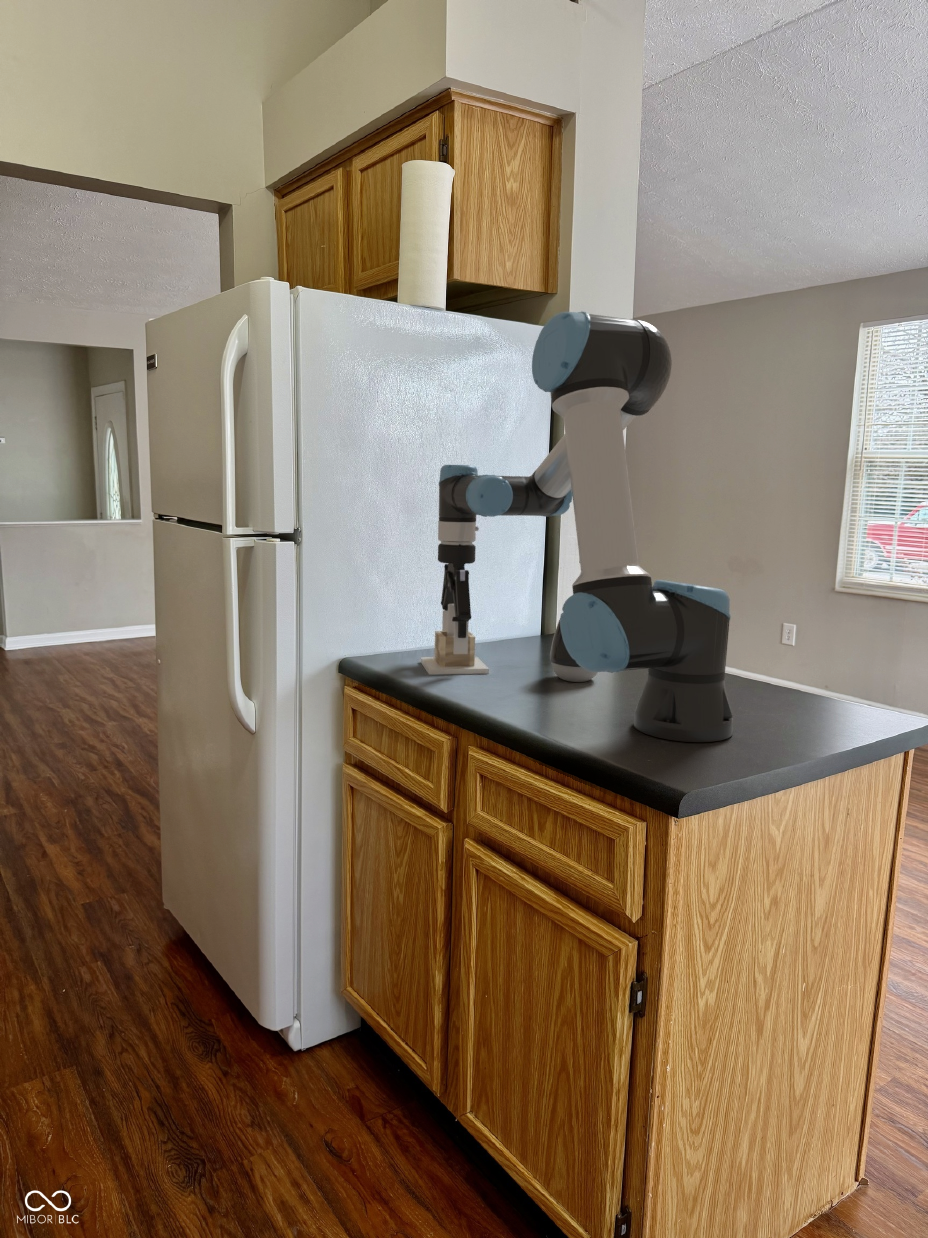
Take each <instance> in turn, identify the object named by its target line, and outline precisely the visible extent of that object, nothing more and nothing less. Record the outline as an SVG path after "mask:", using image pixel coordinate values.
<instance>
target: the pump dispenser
mask: <svg viewBox="0 0 928 1238" xmlns="http://www.w3.org/2000/svg"><path fill="white" fill-rule="evenodd" d="M556 625H557V626H556V629H555V631H554V634H553V638H552V642H551V647H550V651H549V652H550V653H549V661H550V662H551V667H552V670H553V672H554V673H555V674H556V676H557V677H558V678H560V679H561V680H563V681H566V682H572V683H585V682H588V681H590V680H592V679H594V678H595V677H596V676H597V675H598V673H599V672H592V671H588V670H586V669H584V668H582V667H581V666H579V665H578V664H577V663H576V661H575V660H574V659H573V658H572V657H571V656H570V654H569V653H568V651H567V649H566V647H565V644H564V641H563V638H562V634H561V628H560V619H559V620H558V622H557V624H556Z"/></svg>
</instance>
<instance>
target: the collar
mask: <svg viewBox="0 0 928 1238" xmlns="http://www.w3.org/2000/svg"><path fill="white" fill-rule="evenodd" d="M453 650H454V636H447V631H442V630H437V631H436V630H435V631H434V657H435V658H434V660H435V661H436V662H437V664H438V665H439V666H440V667H458V666H474V662H475V657H476V656H475V655H476V652H475V651H476V636H475V635H473V634H472V633H471V632H470V631H469V630H468V654H453Z"/></svg>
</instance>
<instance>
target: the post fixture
mask: <svg viewBox="0 0 928 1238" xmlns="http://www.w3.org/2000/svg"><path fill="white" fill-rule="evenodd" d="M453 617H455V609H454V604H448V626H447V636H454V622H452V618H453ZM434 658H435V656H434V657H433V656H432V657H431V656H430V657H429V656H424V657H420V663H421V665H422V666H423V668H424V669H425V670H426V672H427V674H428V675H429V676H432V675H475V674H476V675H478V674H479V675H480V674H481V675H482V674H485V675H487V674H490V668H489V667H488V666H487V665H486V664H485V663H484V662H483V661H482V660H481V659H480V658H479V657H478V656H475V662H474V666H458V667H440V666H439V665H438V664H437V662H436V661H435V660H434Z"/></svg>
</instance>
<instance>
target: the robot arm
mask: <svg viewBox="0 0 928 1238" xmlns="http://www.w3.org/2000/svg"><path fill="white" fill-rule="evenodd" d="M532 352H533V353H532V357H531V358H532V359H531V374H532V378H533V382H534V384H535V385H536V386H537V388H538V389H539V390H542V391H543V392H545V393H550V400H551V408H552V410H553V412H555V413H556V414H557V415H558V416H560V417H561V418H562V419H563V425H564V426H563V427H564V434H563V436H562V437H561V438H560V439H559V441H558V442H557V443H556V445H554V447H553V448H552V450H550V452H549V453H548V455H547V456H545V459H543V461H542V462H541V463H540V465H538V467H537V468H536V469H535V470H534V472H533V473H532V474H531V475H530V476H523V475H522V476H519V475H515V476H514V475H511V476H510V475H496V474H481V475H480V474H479V473H478V469H477V467H476V466H475V465H473V464H444V465H442V466H441V467H440V470H439V471H440V472H439V481H438V523H437V526H438V527H437V537H438V538H437V540H438V542H440V543H439V544H438V545H437V561H438V562H439V563H442V564H444V565H443V568H444V574H443V583H442V591H441V601H440V605H441V607H442V626H441V627H442V628H441V629H442V630H441V631H447V626H448V604H454V609H455V617H453V618H452V622H454V650H453V654H468V631H469V621H470V620H471V619H472V610H471V596H470V595H471V593H470V576H469V575H470V571H469V569H466V568H465V566H466V564H468V565H470V564H474V563H475V562H476V545H475V544H473V543H474V542H475V541H476V538H477V537H476V535H477V534H476V532H478V531H479V526H477V516H481V517H485V518H487V517H493V518H494V517H497V516H501V517H502V516H503V517H504V516H508V517H509V516H510V517H511V516H513V517H514V516H517V517H518V516H521V517H522V516H523V517H524V516H526V517H527V516H533V517H547V518H548V517H553V516H562V515H564V514H565V513H566V512H568V511H569V509H570V505H571V503H572V504H573V512H574V522H575V528H576V529H575V530H576V538H577V539H576V540H577V547H578V548H577V549H578V556H579V566H580V574H579V575H578V577H577V578H576V579H575V581H574V582H573V583H572V585H571V586H572V595H571V596H569V597H568V598H567V599H566V600H565V601H564V603H563V605H562V609H561V610H562V613H560V618H559V620H560V628H561V634H562V638H563V641H564V644H565V647H566V649H567V651H568V653H569V654H570V656H571V657H572V658H573V659H574V660H575V661H576V663H577V664H578V665H579V666H581V667H582V668H584V669H586V670H588V671H592V672H598V673H605V672H606V673H611V674H613V673H619V672H622V671H623V672H624V671H633V670H644V669H646V670H647V669H648V671H647V680H646V683H645V685H644V688H643V690H642V692H641V694H640V697H639V699H638V702H637V704H636V708H635V710H634V717H633V726H634V728H635V729H637V731H639V732H641V733H642V734H645V735H648V736H651V737H655V738H659V739H662V740H663V739H664V740H669V741H676V742H685V743H686V742H687V743H712V742H719V741H723V740H727V739H729V738H730V737H732V735H733V731H734V730H733V729H734V717H733V713H732V709H731V706H730V701H729V698H728V694H727V690H726V686H725V681H726V680H725V678H726V667H727V665H726V664H727V653H728V644H729V643H728V642H729V631H730V622H731V621H730V620H731V618H732V617H731V614H730V605H731V603H730V601H731V599H730V596H729V594H728V593H727V592H726V591H725V590H723V589H721V588H716V587H711V586H704V585H699V584H691V583H685V582H677V581H672V580H671V581H670V580H665V579H663V580H662V579H657V580H655V581H654V582H653V583H652V576H651V574H650V573H649V572H647V571H646V570H644V569H643V568H642V567H641V566H640V563H639V562H640V561H639V553H638V546H637V537H636V528H635V520H634V512H633V503H632V496H631V488H630V487H631V485H630V478H629V471H628V462H627V455H626V446H625V445H626V444H625V439H624V438H625V435H624V430H625V429H627V427H628V426H629V425H630V424H631V423H632V421H633V420H634V419H635V418H637V417H638V418H640V417H643V416H645V415H647V414H648V413H649V412H650V411H651V409H652V408H653V407H654V406H655V405H656V403H657V402H658V401H659V400H660V398H661V397H662V395H663V393H664V392H665V390H666V388H667V386H668V384H669V381H670V377H671V373H672V367H673V366H672V365H673V364H672V361H673V360H672V353H671V350H670V346H669V343H668V341H667V340H666V338H665V337H664V335H663V334H662V332H661V331H660V330H659V329H657V327H655V326H654V325H652V324H650V323H649V322H646V321H645V320H644V321H643V320H640V319H635V318H634V319H633V318H623V317H615V316H609V315H601V314H600V315H599V314H592V313H588V312H585V311H579V312H575V311H561V312H559V313H556V314H554V315H553V316H552V317H550V318H549V319H548V320H547V322H546V323H545V324H544V326H543V327H542V328H541V330H540V332H539V335H538V336H537V340H536V341H535V344H534V349H533V351H532Z"/></svg>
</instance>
